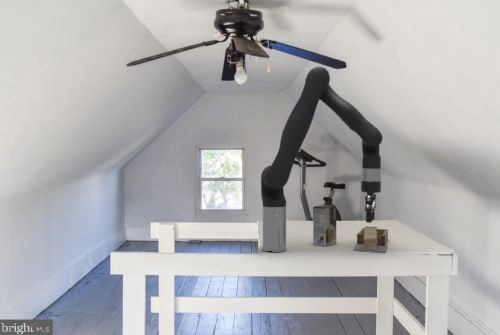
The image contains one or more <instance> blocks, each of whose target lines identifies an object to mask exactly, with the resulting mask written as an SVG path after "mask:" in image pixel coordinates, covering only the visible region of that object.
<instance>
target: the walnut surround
mask: <svg viewBox="0 0 500 335" xmlns="http://www.w3.org/2000/svg"><path fill="white" fill-rule="evenodd" d="M388 239H389V229H387V228H386V229H383V228H377V245H378V246H387V243H388V241H389V240H388ZM357 244H363V245H364V227H362V228H361V229H360V230H359V232H357V233H356V245H357Z"/></svg>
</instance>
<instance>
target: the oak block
mask: <svg viewBox="0 0 500 335" xmlns="http://www.w3.org/2000/svg"><path fill="white" fill-rule="evenodd" d="M363 228H364V248H367V249H376V248H377V229H378V227H377V226H370V225H369V226H366V225H365V226H364V227H363Z"/></svg>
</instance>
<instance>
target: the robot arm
mask: <svg viewBox="0 0 500 335" xmlns="http://www.w3.org/2000/svg"><path fill="white" fill-rule="evenodd" d="M304 80H305V81H304V86H303V89H302V92H301V95H300V96H299V98H298V100H297V101H296V103H295V105H294V107H293V108H292V110H291V112H290V114H289V116H288V118H287V120H286V123H285V125H284V127H283V129H282V133H281V137H280V142H279V148H278V150H277V151H278V152H277V154H276V155H275V157H274V159H273V162H272V164H271V165H270V164H269V165H267V166H266V167H264V169H263V170H262V172H261V175H260V190H261V192H260V193H261V194H260V195H261V202H262V251H263V252H268V251H272V253H280V252H284V251H286V250H287V199H286V197H285V193H284V189H285V188H284V187H285V186H286V185H287V184H288V181H289V178H290V175H291V173H292V169H293V165H294V163H295V160H296V158H297V156H298V154H299V152H300V150H301V147H302V145H303V143H304V140H305V139H306V137H307V135H308V132H309V130H310V127H311V125H312V122H313V119H314V115H315V113H316V109H317V106H318V103H319V102H320V101H321V102H322V103H324V104H325V105H326V106H327V107H328V108H329V109H330V110H331V111H332V112H334V114H335V115H337V116H338V118H339V119H340V120H341V121H342V122H343V123H344V124H345V125H346V126H347V127H348V128H349V129H350V130H351V131H352V132H354V133H356V134H357V135H358V137H360V138H361V148H362V149H361V151H362V164H361V175H360V176H361V178H360V184H361V185H360V191H361V192H362V193H366V195H365V197H364V201H365V202H364V211H365V223H370V224H371V223H373V221H374V220H375V210H376V208H377V207H376V206H377V195H376V194H377V193H381V191H382V171H381V170H382V169H381V168H382V167H381V166H382V165H381V164H382V163H381V162H382V161H381V159H382V158H381V157H382V156H381V154H380V144H382V141H383V135H382V133H381V130H379V129H378V128H377V127H376V126H375V125H373V124H372V123H371V122H370V121H369V120H367V118H365V117H364V115H363V114H362V113H361V112H360V111H359V110H358V109H357V108H356V107H355V106H354V105H353V104H352V103H350V102H349V101H347V100H346V99H344V98H342V96H340V95H339V94H338V93H336V91H335V90H334V89H333V88H332V87H331V85H330V82H331V81H330V80H331V78H330V72H329V71H328V69H327V68H326V67H324V66H314V67H313V68H312V69H310V70H309V71H308V73H307V75H306V78H305V79H304Z"/></svg>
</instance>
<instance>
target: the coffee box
mask: <svg viewBox="0 0 500 335" xmlns="http://www.w3.org/2000/svg"><path fill="white" fill-rule="evenodd" d="M312 208H313V209H312V210H313V211H312V213H313V215H312V219H313V220H312V222H313V225H312V226H313V228H312V230H313V234H312V235H313V237H312V238H313V239H312V240H313V242H312V243H313V246H318V247H329V246H331V245H335V244H337V206H336V205H332V204H320V205H315V206H313V207H312Z"/></svg>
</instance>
